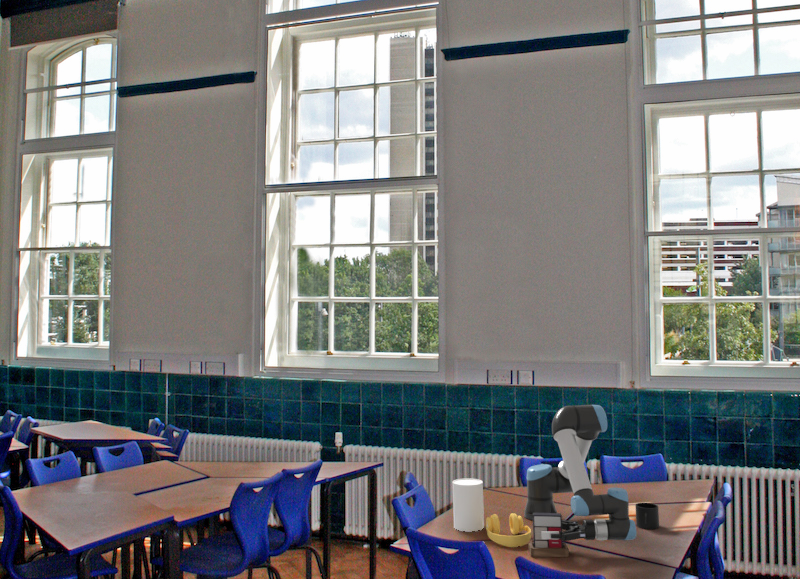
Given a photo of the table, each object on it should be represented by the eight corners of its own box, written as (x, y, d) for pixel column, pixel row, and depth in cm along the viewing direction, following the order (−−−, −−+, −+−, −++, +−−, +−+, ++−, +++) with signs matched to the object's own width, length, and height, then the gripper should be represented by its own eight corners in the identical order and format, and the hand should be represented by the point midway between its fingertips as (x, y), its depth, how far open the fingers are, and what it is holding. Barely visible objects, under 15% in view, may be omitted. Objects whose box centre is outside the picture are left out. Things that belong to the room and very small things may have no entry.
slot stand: (528, 549, 257) (528, 542, 258) (565, 550, 256) (565, 542, 257) (531, 556, 250) (530, 548, 250) (568, 556, 249) (568, 548, 249)
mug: (634, 529, 280) (633, 508, 280) (637, 522, 291) (636, 501, 291) (658, 532, 276) (657, 510, 277) (659, 524, 287) (658, 503, 287)
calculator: (534, 554, 252) (532, 515, 253) (533, 551, 256) (532, 512, 257) (563, 555, 250) (561, 516, 251) (562, 551, 254) (560, 513, 255)
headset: (494, 548, 260) (493, 525, 261) (482, 533, 281) (481, 512, 282) (537, 546, 262) (536, 523, 263) (521, 532, 283) (521, 510, 284)
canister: (487, 530, 284) (486, 484, 285) (458, 532, 281) (456, 486, 283) (479, 521, 297) (477, 477, 298) (450, 523, 295) (449, 479, 296)
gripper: (602, 550, 240) (544, 550, 241) (587, 529, 265) (535, 529, 266) (601, 529, 240) (543, 529, 242) (587, 511, 265) (534, 511, 267)
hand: (539, 529), depth 254 cm, fingers open, 13 cm apart
